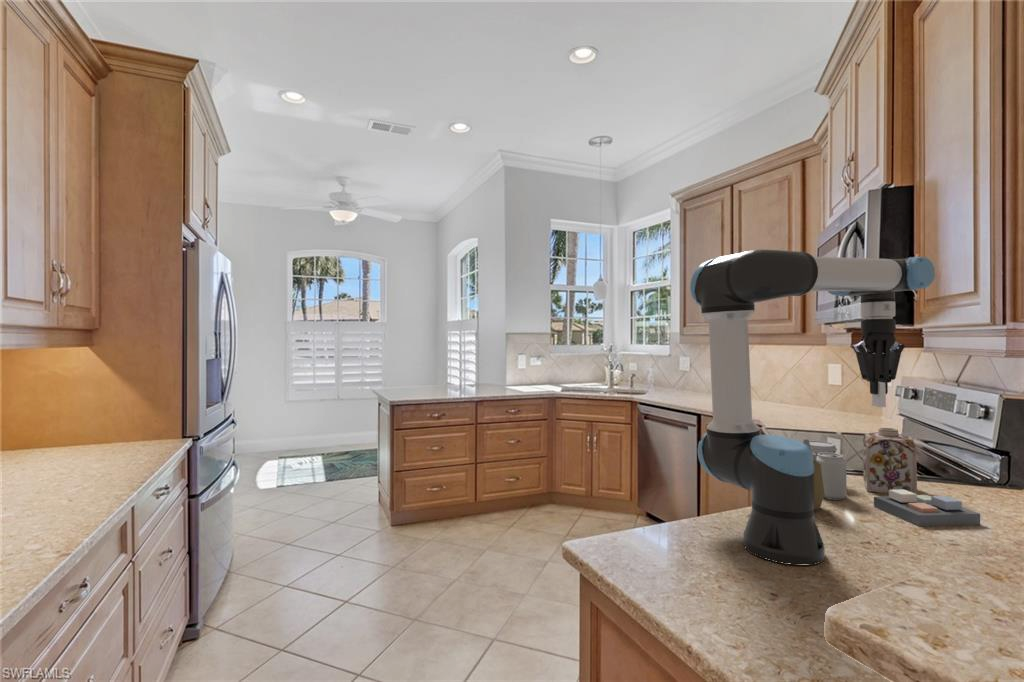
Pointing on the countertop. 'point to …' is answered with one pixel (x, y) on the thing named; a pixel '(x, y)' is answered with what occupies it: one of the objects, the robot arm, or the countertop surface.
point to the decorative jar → (889, 461)
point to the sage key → (924, 499)
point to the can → (833, 475)
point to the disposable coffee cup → (822, 447)
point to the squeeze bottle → (817, 480)
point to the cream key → (903, 496)
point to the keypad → (927, 514)
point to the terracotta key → (922, 507)
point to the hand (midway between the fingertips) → (879, 406)
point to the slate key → (946, 503)
